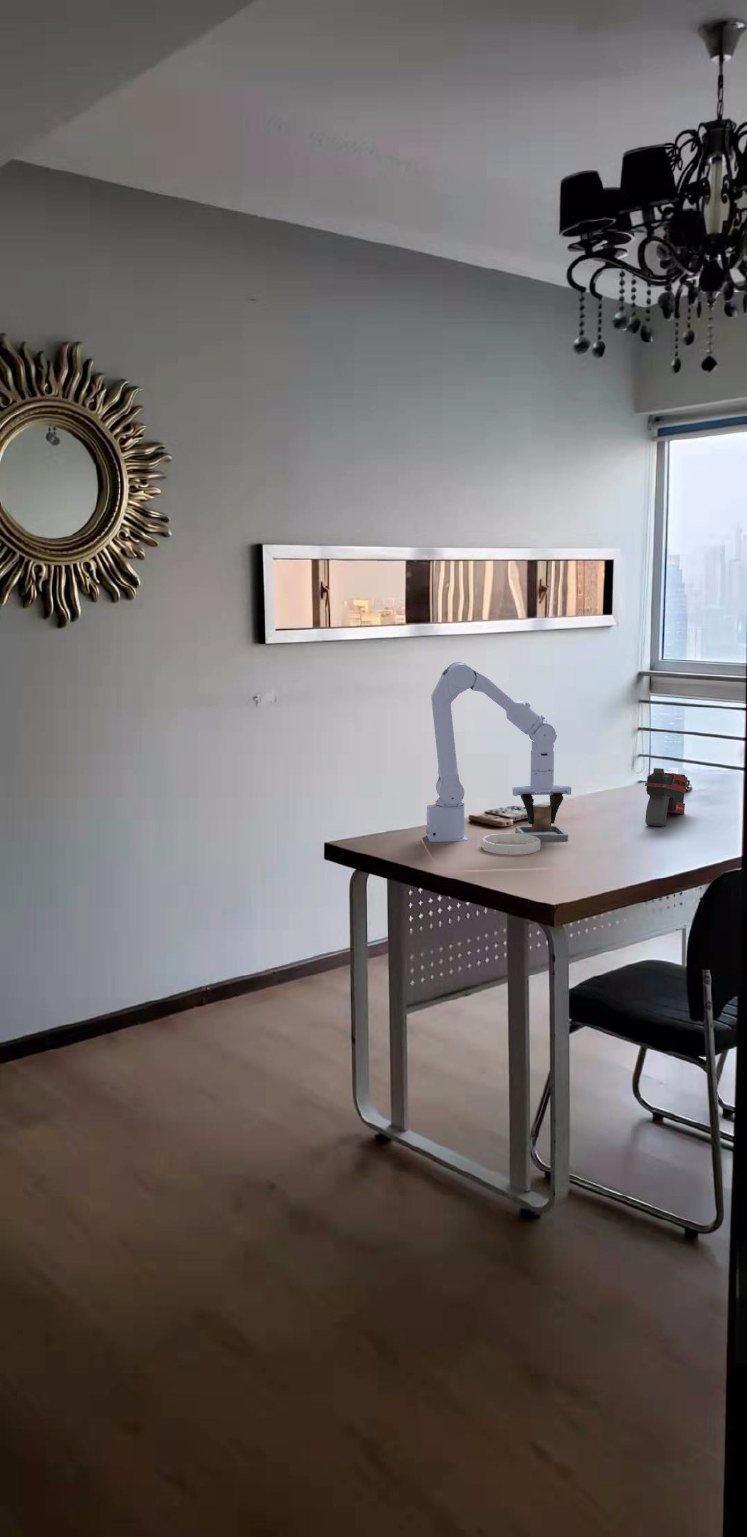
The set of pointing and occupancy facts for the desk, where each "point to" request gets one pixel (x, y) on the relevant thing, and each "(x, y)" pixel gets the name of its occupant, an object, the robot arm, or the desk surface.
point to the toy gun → (664, 796)
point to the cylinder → (541, 818)
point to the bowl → (510, 843)
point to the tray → (544, 833)
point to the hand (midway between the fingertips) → (541, 823)
